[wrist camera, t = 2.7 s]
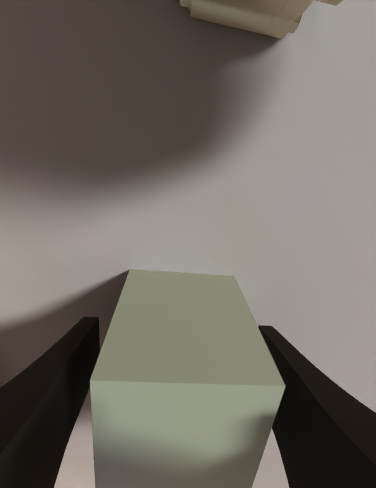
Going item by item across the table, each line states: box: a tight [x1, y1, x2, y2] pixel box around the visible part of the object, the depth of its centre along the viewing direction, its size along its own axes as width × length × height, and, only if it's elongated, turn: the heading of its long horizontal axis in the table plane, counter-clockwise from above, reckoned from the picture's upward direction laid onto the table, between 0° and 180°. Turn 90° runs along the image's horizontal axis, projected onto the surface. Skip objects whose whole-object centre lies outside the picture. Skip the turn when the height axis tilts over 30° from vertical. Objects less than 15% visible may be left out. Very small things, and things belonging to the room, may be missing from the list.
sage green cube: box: [90, 269, 285, 488], centre depth 10 cm, size 7×5×6 cm
